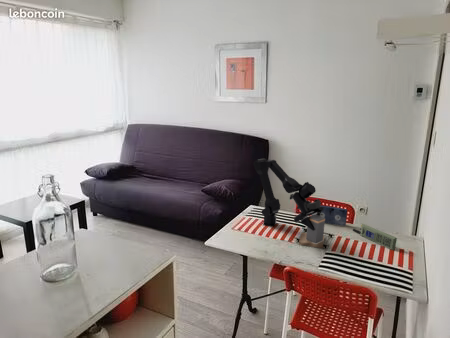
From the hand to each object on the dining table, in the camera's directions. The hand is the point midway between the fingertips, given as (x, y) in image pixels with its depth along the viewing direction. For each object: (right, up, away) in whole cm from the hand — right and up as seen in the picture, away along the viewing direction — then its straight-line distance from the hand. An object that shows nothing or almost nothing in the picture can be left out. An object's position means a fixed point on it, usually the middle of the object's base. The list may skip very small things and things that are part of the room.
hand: (317, 228), depth 174 cm
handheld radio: (+31, -8, +7) cm, 33 cm away
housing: (-1, -6, +3) cm, 7 cm away
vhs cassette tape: (+15, -2, +29) cm, 32 cm away
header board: (-2, -8, +5) cm, 9 cm away
